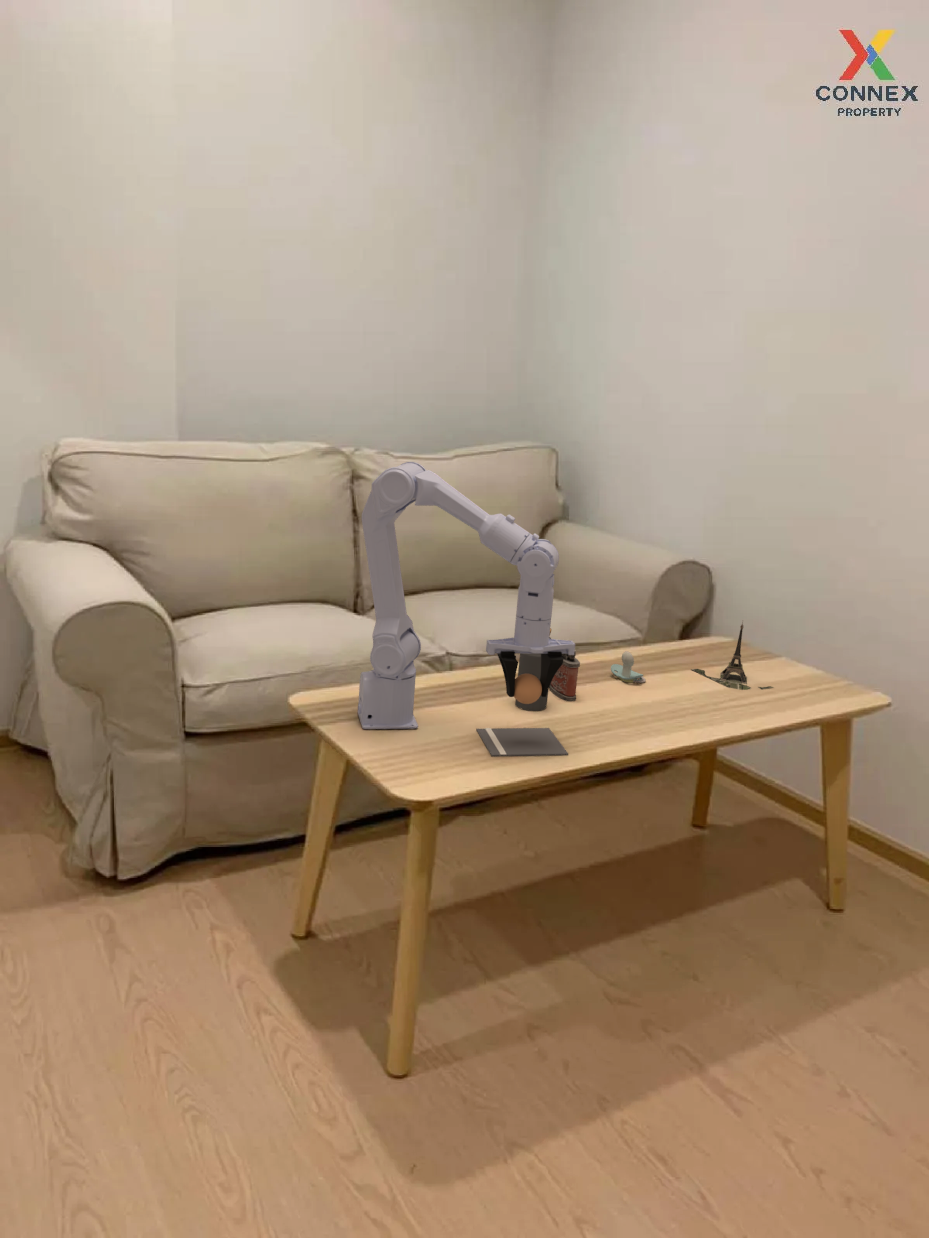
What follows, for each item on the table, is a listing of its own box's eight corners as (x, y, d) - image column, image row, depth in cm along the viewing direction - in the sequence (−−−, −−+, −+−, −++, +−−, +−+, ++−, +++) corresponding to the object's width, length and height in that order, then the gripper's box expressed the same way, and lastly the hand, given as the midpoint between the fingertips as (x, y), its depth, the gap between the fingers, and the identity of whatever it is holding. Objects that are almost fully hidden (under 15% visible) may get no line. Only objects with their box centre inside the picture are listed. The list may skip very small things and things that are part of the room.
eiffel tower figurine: (688, 671, 217) (697, 611, 213) (723, 667, 222) (732, 608, 218) (739, 695, 204) (749, 632, 201) (774, 690, 209) (785, 628, 206)
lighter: (579, 700, 192) (585, 650, 190) (563, 701, 191) (569, 651, 188) (560, 686, 200) (565, 637, 197) (545, 687, 198) (550, 638, 196)
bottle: (520, 711, 184) (528, 632, 180) (510, 700, 190) (518, 623, 186) (551, 710, 186) (559, 632, 182) (540, 699, 191) (548, 623, 187)
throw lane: (491, 756, 164) (491, 754, 164) (476, 730, 174) (476, 728, 174) (568, 755, 167) (568, 753, 167) (548, 729, 177) (549, 727, 177)
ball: (514, 708, 166) (517, 679, 164) (507, 697, 170) (509, 669, 169) (544, 708, 167) (547, 679, 165) (535, 697, 171) (538, 669, 170)
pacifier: (626, 673, 212) (605, 676, 208) (630, 644, 210) (610, 646, 207) (652, 684, 206) (631, 687, 203) (656, 654, 205) (636, 657, 201)
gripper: (496, 622, 159) (489, 703, 163) (584, 623, 162) (575, 703, 166) (485, 610, 166) (479, 688, 169) (570, 611, 169) (562, 688, 173)
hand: (526, 694), depth 168 cm, fingers closed on ball, 5 cm apart
